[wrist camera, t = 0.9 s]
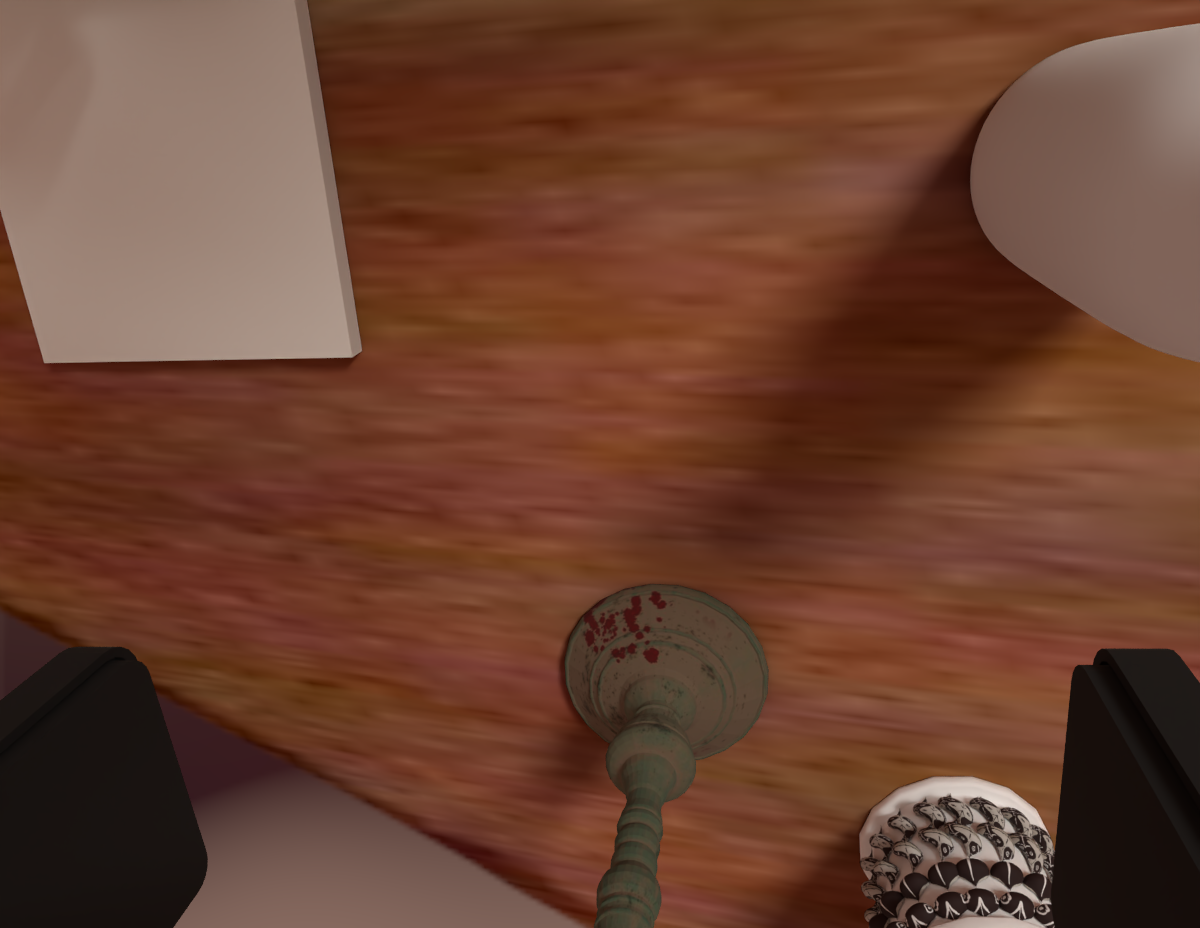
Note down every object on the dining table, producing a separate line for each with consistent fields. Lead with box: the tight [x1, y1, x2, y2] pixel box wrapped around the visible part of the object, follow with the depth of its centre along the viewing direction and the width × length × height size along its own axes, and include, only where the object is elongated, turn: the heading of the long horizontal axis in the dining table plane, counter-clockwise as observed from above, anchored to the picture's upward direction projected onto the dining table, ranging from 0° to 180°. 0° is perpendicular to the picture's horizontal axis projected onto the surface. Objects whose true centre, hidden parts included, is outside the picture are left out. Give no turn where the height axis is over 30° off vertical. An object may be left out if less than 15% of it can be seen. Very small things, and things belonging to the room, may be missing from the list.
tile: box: [0, 0, 362, 363], centre depth 36 cm, size 14×14×1 cm
